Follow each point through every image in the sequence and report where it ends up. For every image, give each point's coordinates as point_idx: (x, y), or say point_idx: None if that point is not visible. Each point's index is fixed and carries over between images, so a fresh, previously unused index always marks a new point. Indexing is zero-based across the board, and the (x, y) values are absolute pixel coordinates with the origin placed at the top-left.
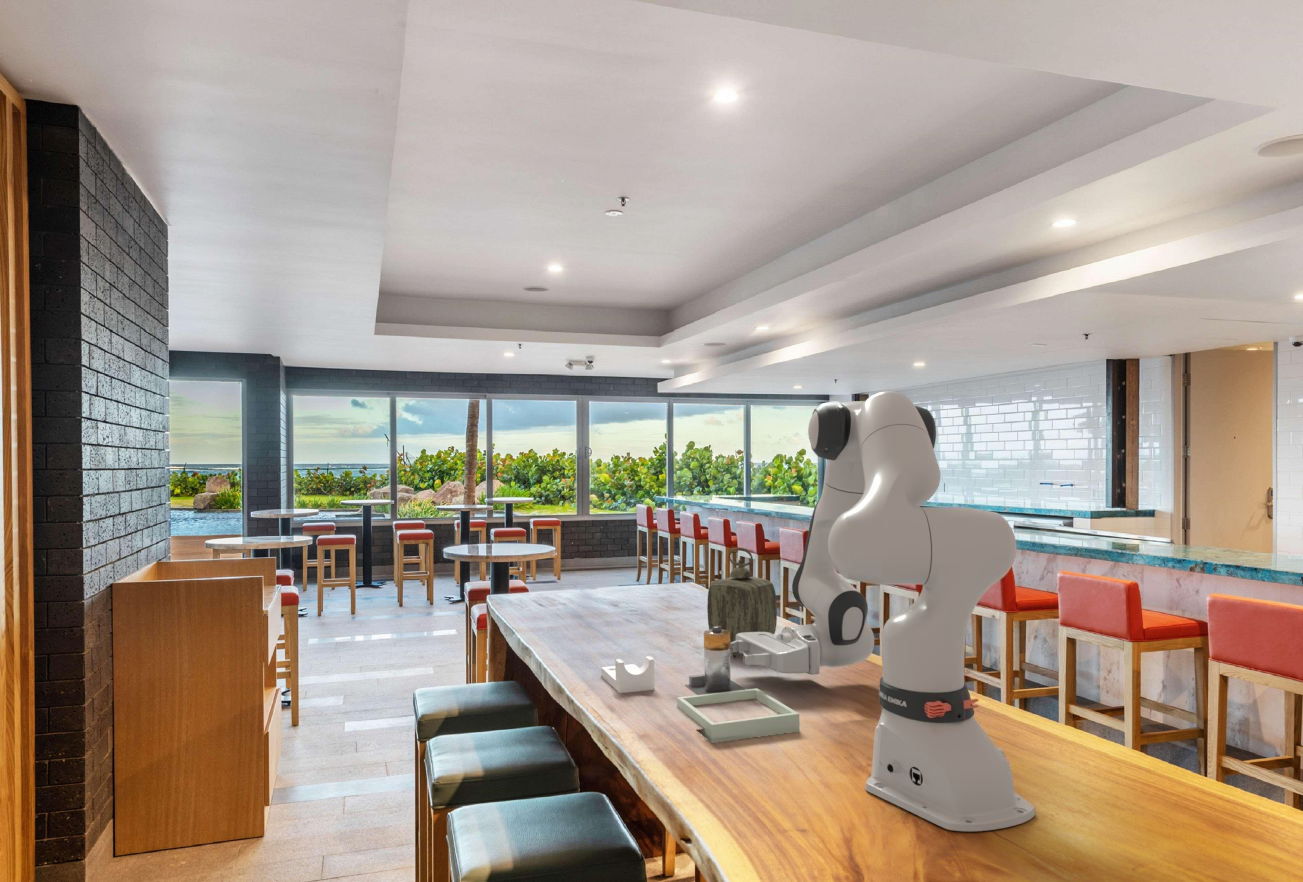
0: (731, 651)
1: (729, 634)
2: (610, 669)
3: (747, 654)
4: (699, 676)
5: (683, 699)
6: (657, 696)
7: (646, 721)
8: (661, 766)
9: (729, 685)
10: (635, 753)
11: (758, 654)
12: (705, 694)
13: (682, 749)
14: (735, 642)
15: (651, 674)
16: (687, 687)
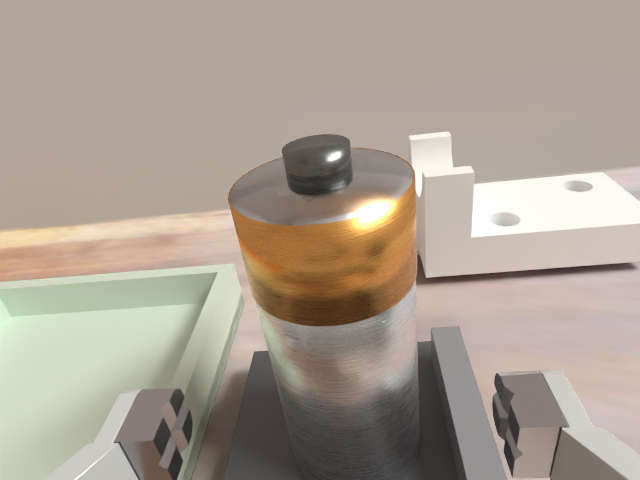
0: (506, 448)
1: (248, 228)
2: (588, 186)
3: (145, 405)
4: (439, 356)
5: (205, 271)
6: (430, 292)
7: (238, 251)
8: (26, 243)
9: (303, 461)
10: (104, 225)
11: (66, 474)
12: (207, 324)
13: (49, 273)
14: (619, 476)
15: (423, 219)
16: (420, 342)
